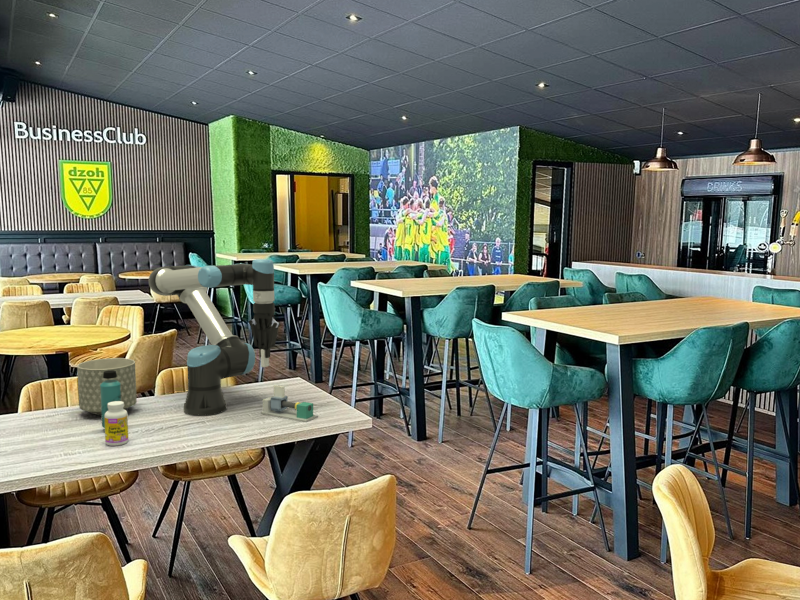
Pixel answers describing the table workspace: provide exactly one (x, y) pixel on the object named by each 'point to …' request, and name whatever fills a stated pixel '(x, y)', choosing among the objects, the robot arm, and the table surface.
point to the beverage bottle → (109, 392)
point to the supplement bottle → (116, 424)
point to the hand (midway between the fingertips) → (265, 366)
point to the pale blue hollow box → (278, 398)
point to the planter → (93, 378)
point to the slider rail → (302, 413)
